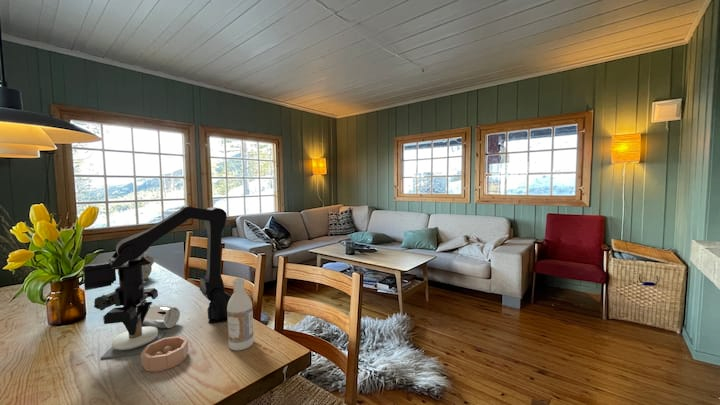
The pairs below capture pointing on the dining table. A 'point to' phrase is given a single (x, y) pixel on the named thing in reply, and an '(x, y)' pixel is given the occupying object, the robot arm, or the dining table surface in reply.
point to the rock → (147, 267)
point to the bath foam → (240, 318)
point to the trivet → (128, 352)
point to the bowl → (164, 354)
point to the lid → (135, 337)
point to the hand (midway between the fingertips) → (135, 331)
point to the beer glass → (162, 316)
